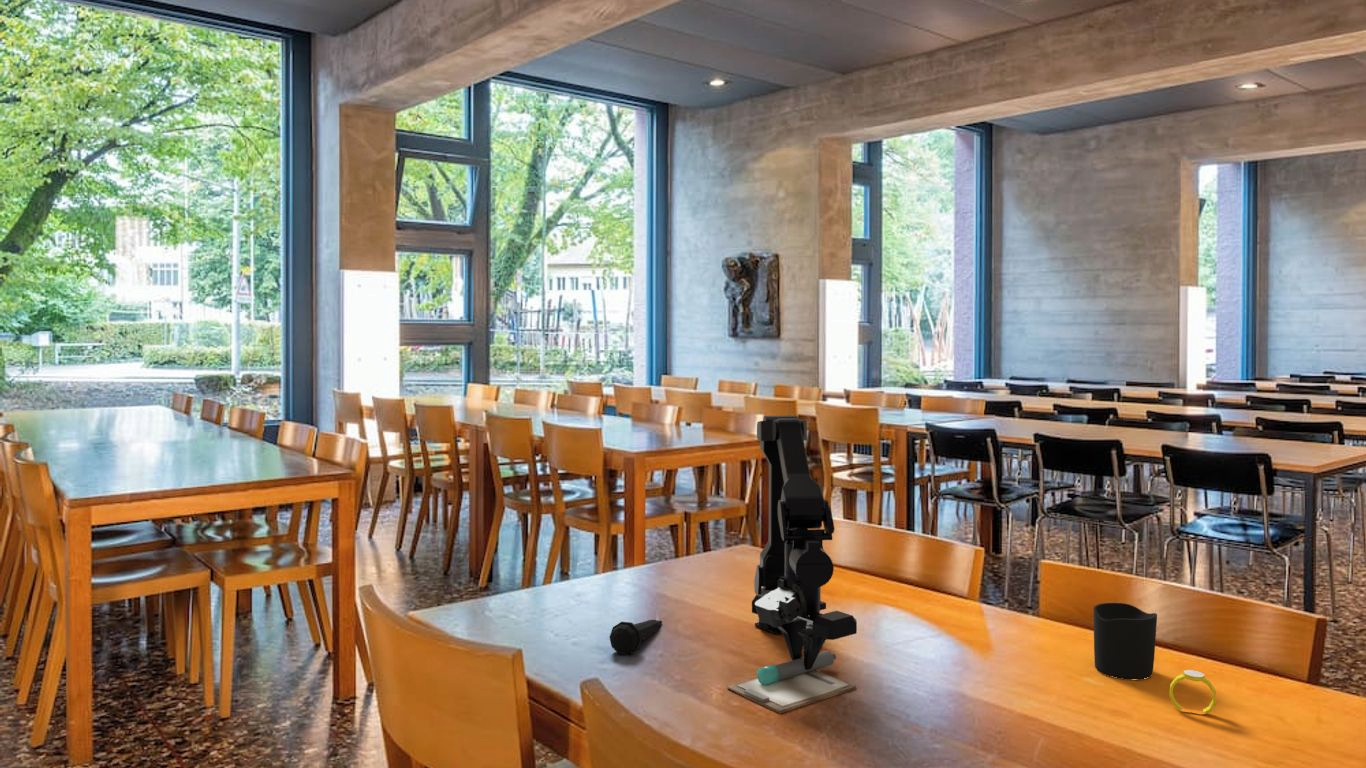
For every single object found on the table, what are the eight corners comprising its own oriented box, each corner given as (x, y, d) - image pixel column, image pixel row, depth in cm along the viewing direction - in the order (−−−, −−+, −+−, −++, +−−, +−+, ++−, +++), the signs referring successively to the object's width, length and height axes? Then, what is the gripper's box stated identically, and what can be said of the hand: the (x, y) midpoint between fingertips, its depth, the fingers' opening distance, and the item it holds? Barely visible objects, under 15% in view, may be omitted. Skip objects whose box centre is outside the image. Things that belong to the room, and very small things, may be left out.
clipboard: (802, 667, 164) (802, 661, 164) (856, 688, 155) (856, 682, 155) (727, 689, 155) (727, 683, 155) (779, 713, 145) (779, 707, 145)
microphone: (651, 640, 188) (608, 661, 169) (644, 610, 189) (600, 627, 170) (677, 634, 187) (637, 655, 168) (670, 603, 188) (629, 621, 169)
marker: (828, 661, 165) (828, 646, 165) (839, 665, 163) (839, 650, 163) (756, 682, 156) (756, 666, 156) (768, 687, 154) (768, 670, 154)
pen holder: (1151, 665, 165) (1153, 605, 164) (1158, 684, 156) (1160, 622, 155) (1090, 659, 168) (1091, 600, 167) (1093, 678, 159) (1095, 616, 158)
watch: (1213, 714, 145) (1218, 674, 145) (1214, 721, 143) (1219, 681, 142) (1167, 704, 148) (1172, 665, 147) (1167, 711, 145) (1172, 671, 145)
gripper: (726, 567, 161) (726, 661, 162) (806, 592, 146) (806, 696, 147) (777, 556, 168) (777, 647, 169) (859, 580, 153) (858, 679, 154)
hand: (802, 666), depth 160 cm, fingers closed on marker, 2 cm apart
